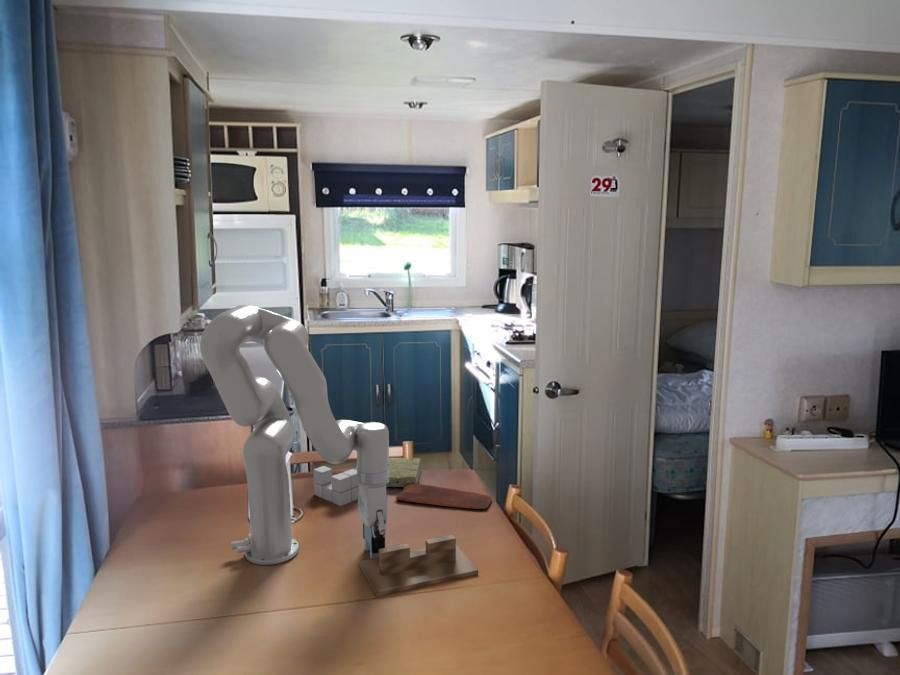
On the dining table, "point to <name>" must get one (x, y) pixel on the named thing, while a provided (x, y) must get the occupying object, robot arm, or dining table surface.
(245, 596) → the dining table surface
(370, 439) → the robot arm
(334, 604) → the dining table surface
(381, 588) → the walnut stand
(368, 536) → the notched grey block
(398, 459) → the olive green flat block
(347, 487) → the puzzle cube
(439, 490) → the wooden tablet
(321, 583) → the dining table surface
